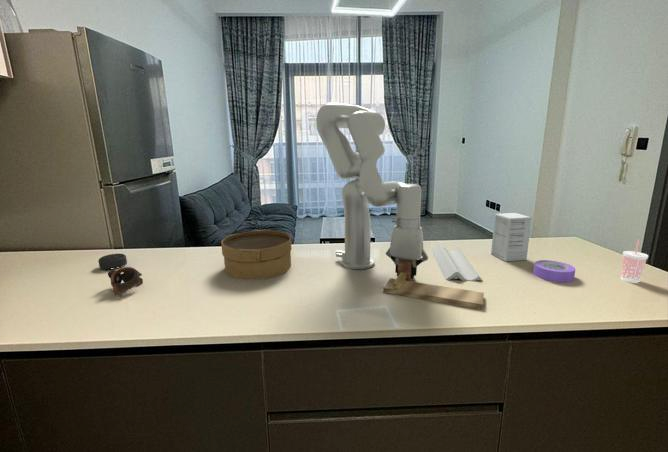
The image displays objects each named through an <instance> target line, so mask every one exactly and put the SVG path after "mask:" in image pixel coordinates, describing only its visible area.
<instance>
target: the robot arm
mask: <svg viewBox="0 0 668 452" xmlns="http://www.w3.org/2000/svg"><path fill="white" fill-rule="evenodd" d="M385 121H386V120H385V119H384V117H383V115H382V114H380V113H379V112H377V111H375V110H371V109H368V108H366V107H362V106H360V105H356V104H353V103H352V104H351V103H341V102H328V103H325V104H323V105H322V106H321V107H319V109H318V110H317V114H316V121H315V123H316V130H317V132H318V135H319V137H320V139H321V141H322V143H323V144H324V147H325V149H326V150H327V154H328V157H329V158H330V160H331V163H332V166H333V168H334V170H335V172H336V174H337V176H338V178H340V179H342V180H350V181H348V182H347V183H345V184H344V186H343V187H342V189H341V200H342V204H343V211H344V212H343V213H344V214H343V215H344V249H343V250H339V249H336V250H335V257H336V258H341V260H340V265H341V266H342V267H344V268H347V269H350V270H365V269H366V270H367V269H369V268H371V267H374V265H375V260H374V258H372V257H371V232H372V231H371V229H372V227H371V226H372V225H371V223H372V222H371V213H370V212H369V211H370V210H369V209H368V206H369V205H372V206H373V207H376V208H381V207H386V206H390V205H396V210H395V211H396V215H395V217H391V222H392V223H394V224H395V225H393V226H392V231H391V238H390V243H389V245H390V247H389V248H388V249H387V251H386V252H385V255H386V257H388V258H390V260H391V261H392V262H393V263H394V265H395V269H394V271H395V272H394V273H396V277H398V261H399V260H400V259H401V258H406V259H412V264H413V265H412V267H411V279H412V280H413V279H414V277H415V276H417V272H418V271H417V270H418V269H417V268H418V266H419V265H421V264H422V263H424V262H426V261H428V260H429V256H428V254H427V253H426V251H425V250H424V249H425V248H424V235H423V234H424V233H423V228H422V227H421V211H422V210H421V208H422V207H421V206H422V192H423V191H422V187H421V185H419V184H418V183H417V184H416V183H403V182H401V181H395V180H392V181H383V179H382V176H381V175H380V173H379V170H378V168H377V163H378V160H379V159H380V158H381V157H382V156H384V154H385V152H386V151H385V146H384V144H383V141H382V139H381V137H380V136H381V135H382V134H383V133H384V131H385V128H386V122H385ZM340 129H348V131H349V133H350V136H351V138H352V141H353V143H354V145H355V148H356V150H357V152H355V151H354V150H353V148H352V146H351V144H350V141H349V139H348V138H347V137H346V135H345V134H344V133H343V132H342V131H341V130H340ZM354 179H355V180H354Z"/></svg>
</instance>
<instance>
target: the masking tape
mask: <svg viewBox="0 0 668 452" xmlns="http://www.w3.org/2000/svg"><path fill="white" fill-rule="evenodd" d="M532 274H533V275H534V276H535V277H536V278H540V279H542V280H544V281H549V282H553V283H571V282H574V280H575V276H576V267H575V266H573V265H571V264H568V263H566V262H562V261H558V260H557V261H556V260H549V259H548V260H547V259H540V260H536V261H534V264H533V270H532Z"/></svg>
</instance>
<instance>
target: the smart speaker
mask: <svg viewBox="0 0 668 452" xmlns="http://www.w3.org/2000/svg"><path fill="white" fill-rule="evenodd" d="M97 262H98V267H99V269H101V268H102V270H104V269H111V268H117V267H120V268H122V267H121V266H123V265H125V264H126V265H127V264H128V258H127V255H126V254H125V253H111V254H107V255H106V254H105V255H104V256H102V257H100V258H99V259H98V261H97ZM126 265H125V266H126ZM123 267H124V266H123ZM117 269H118V268H117ZM111 270H112V269H111Z"/></svg>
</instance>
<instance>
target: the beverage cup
mask: <svg viewBox="0 0 668 452" xmlns="http://www.w3.org/2000/svg"><path fill="white" fill-rule="evenodd" d="M640 240H641V239H640V238H637V241H636V245H635V250H634V251H633V250H623V252H622V256H623V258H622V266H621V275H620V279H621V280H622V281H623V282H627V283H632V284H638V282H639V283H640V281H641V278H642V275H643V271H644V270H645V269H644V268H645V266H646V262H647V260H648V258H649V254H647V253H643V252H640V251H638V249H639V246H640V245H639V244H640Z"/></svg>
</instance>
